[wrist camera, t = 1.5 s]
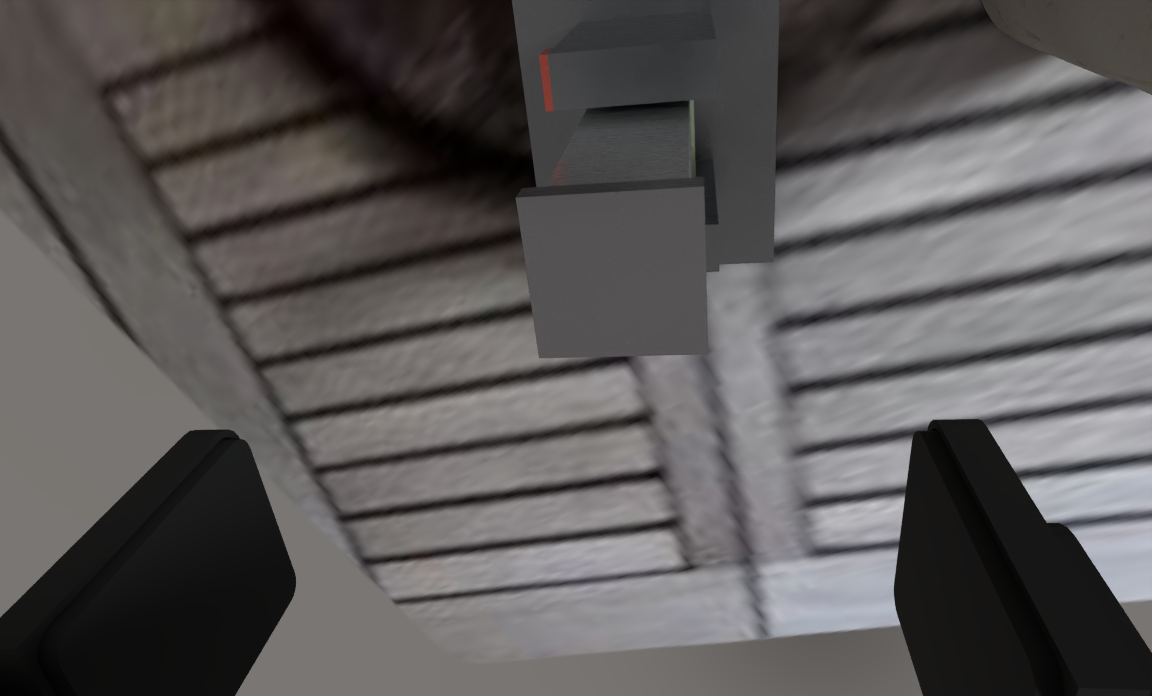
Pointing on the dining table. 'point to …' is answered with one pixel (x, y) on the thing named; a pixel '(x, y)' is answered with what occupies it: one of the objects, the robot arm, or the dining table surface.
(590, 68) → the base
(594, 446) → the dining table surface
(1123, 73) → the thermos bottle
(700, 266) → the column
